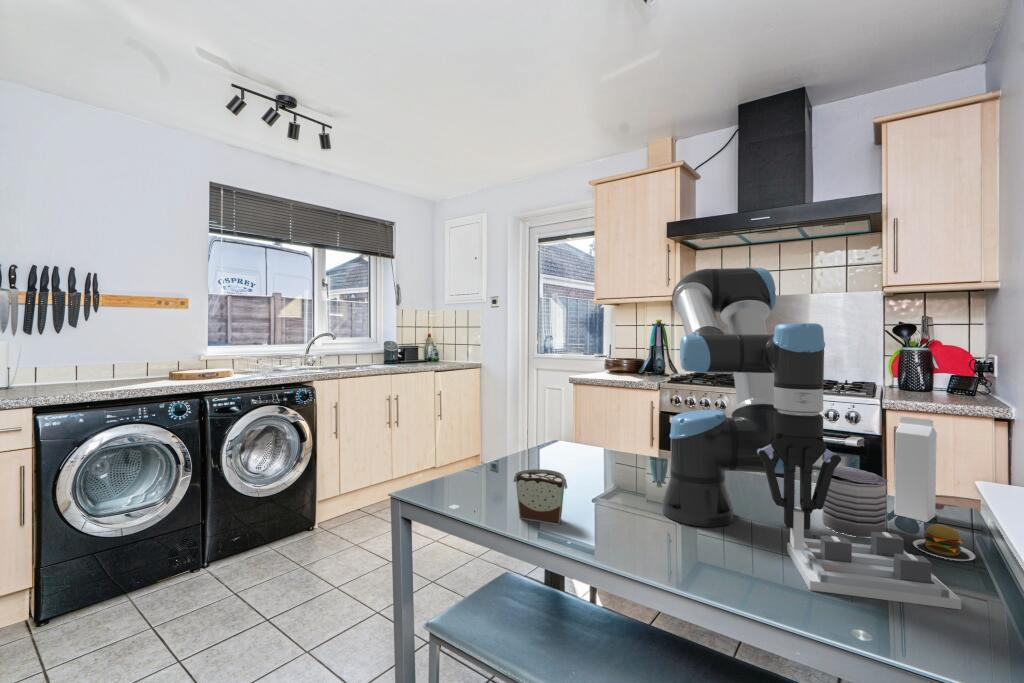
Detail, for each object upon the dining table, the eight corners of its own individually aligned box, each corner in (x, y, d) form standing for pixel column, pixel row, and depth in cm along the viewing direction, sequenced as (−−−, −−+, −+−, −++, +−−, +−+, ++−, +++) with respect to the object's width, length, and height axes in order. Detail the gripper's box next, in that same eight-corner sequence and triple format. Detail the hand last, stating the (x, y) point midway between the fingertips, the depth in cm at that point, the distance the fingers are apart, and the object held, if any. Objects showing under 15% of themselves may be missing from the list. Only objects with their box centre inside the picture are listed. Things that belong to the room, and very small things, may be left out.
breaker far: (876, 559, 87) (876, 535, 87) (870, 553, 89) (870, 530, 89) (903, 562, 86) (903, 538, 86) (897, 556, 88) (897, 533, 88)
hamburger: (959, 574, 86) (960, 543, 86) (887, 546, 98) (888, 518, 98) (1002, 564, 90) (1003, 534, 90) (928, 538, 102) (929, 511, 102)
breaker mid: (824, 564, 85) (824, 540, 85) (820, 558, 87) (820, 534, 87) (851, 567, 84) (851, 542, 84) (846, 561, 86) (846, 537, 86)
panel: (809, 590, 80) (810, 573, 80) (786, 550, 95) (787, 536, 94) (960, 609, 74) (961, 591, 74) (912, 564, 89) (912, 549, 89)
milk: (927, 522, 108) (929, 421, 107) (893, 514, 113) (895, 417, 112) (935, 516, 112) (937, 418, 111) (902, 508, 117) (904, 414, 116)
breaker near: (900, 585, 78) (900, 558, 78) (893, 577, 80) (893, 552, 80) (930, 588, 77) (931, 561, 77) (922, 581, 79) (923, 555, 79)
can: (828, 513, 113) (829, 461, 113) (890, 528, 105) (891, 471, 105) (814, 528, 105) (815, 471, 105) (880, 544, 97) (881, 483, 97)
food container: (574, 516, 112) (574, 472, 112) (565, 526, 107) (565, 479, 106) (524, 508, 117) (524, 466, 117) (513, 517, 112) (513, 472, 111)
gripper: (760, 413, 85) (759, 550, 85) (848, 417, 81) (847, 560, 82) (753, 407, 92) (752, 533, 93) (833, 410, 88) (832, 542, 89)
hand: (796, 546), depth 87 cm, fingers closed
